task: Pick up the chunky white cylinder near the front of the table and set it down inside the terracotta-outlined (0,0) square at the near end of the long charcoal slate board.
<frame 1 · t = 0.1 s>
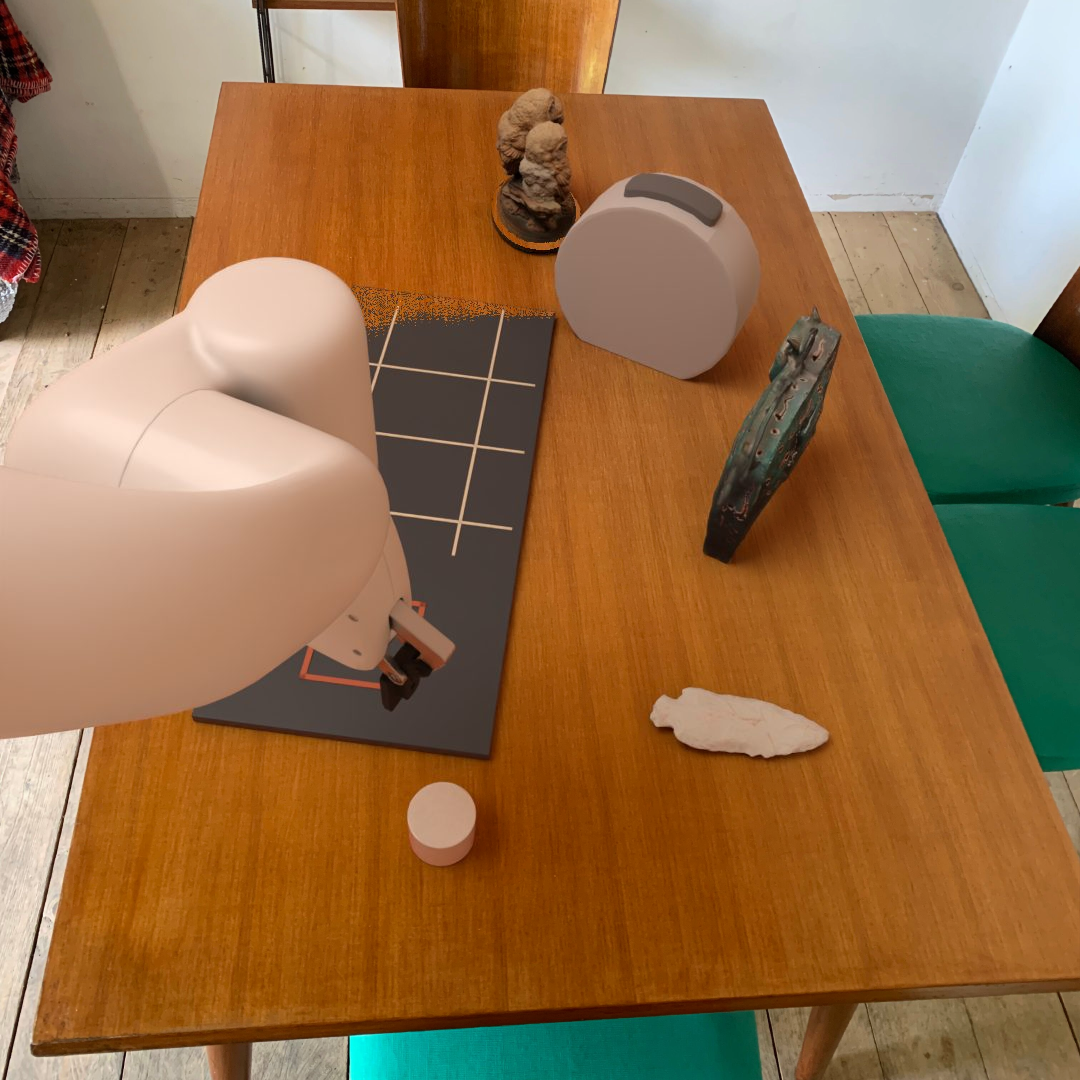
hand: (338, 659, 61), 16 cm above the table, tool pointing down, fingers open, 9 cm apart
owl figurine: (536, 220, 120), on the table
ceramic cat: (749, 498, 93), on the table
stone tool: (735, 728, 78), on the table
white cylinder: (442, 833, 70), on the table
alarm clock: (642, 342, 107), on the table
board: (408, 482, 91), on the table
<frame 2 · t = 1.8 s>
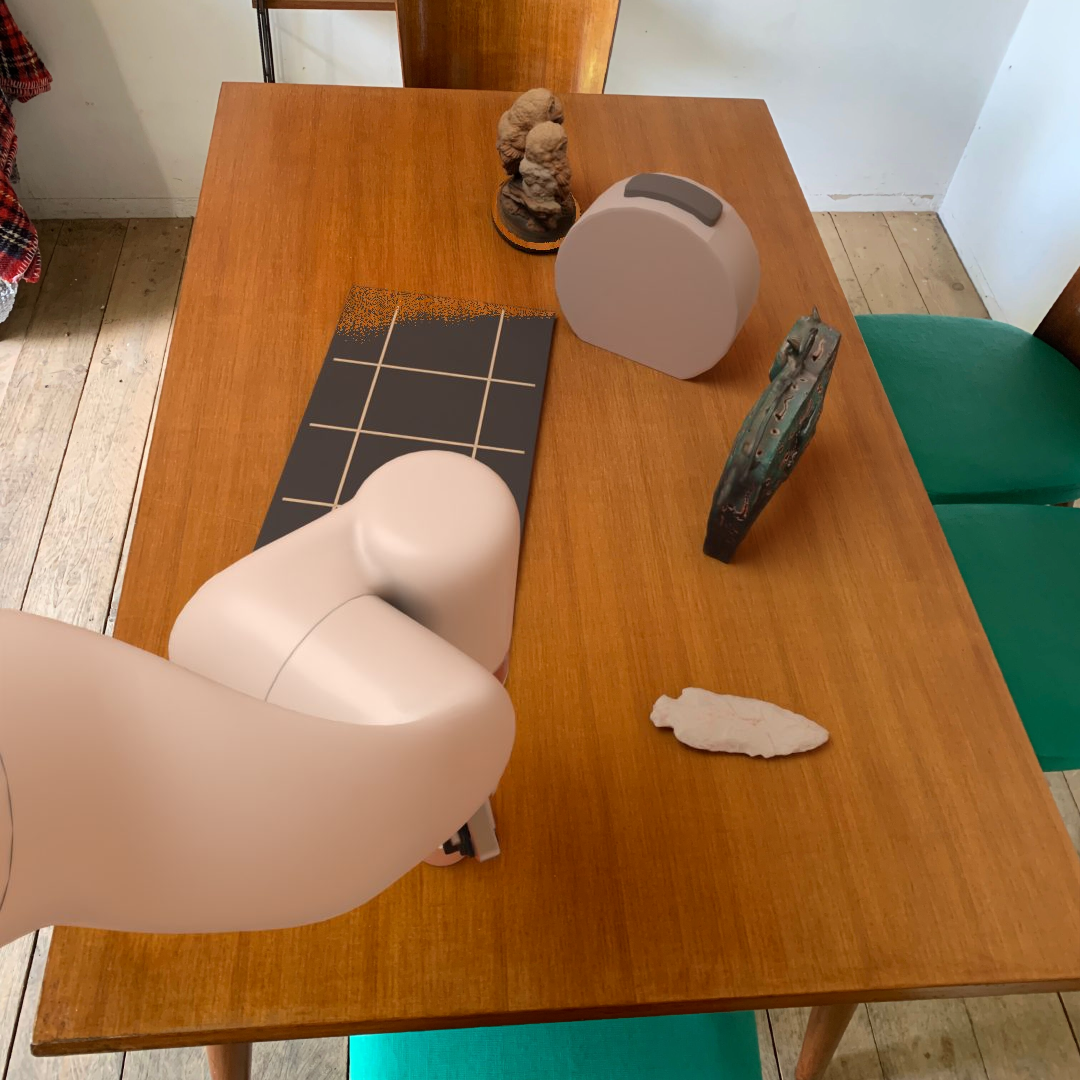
hand: (443, 775, 62), 10 cm above the table, tool pointing down, fingers open, 9 cm apart
nothing on the table moved.
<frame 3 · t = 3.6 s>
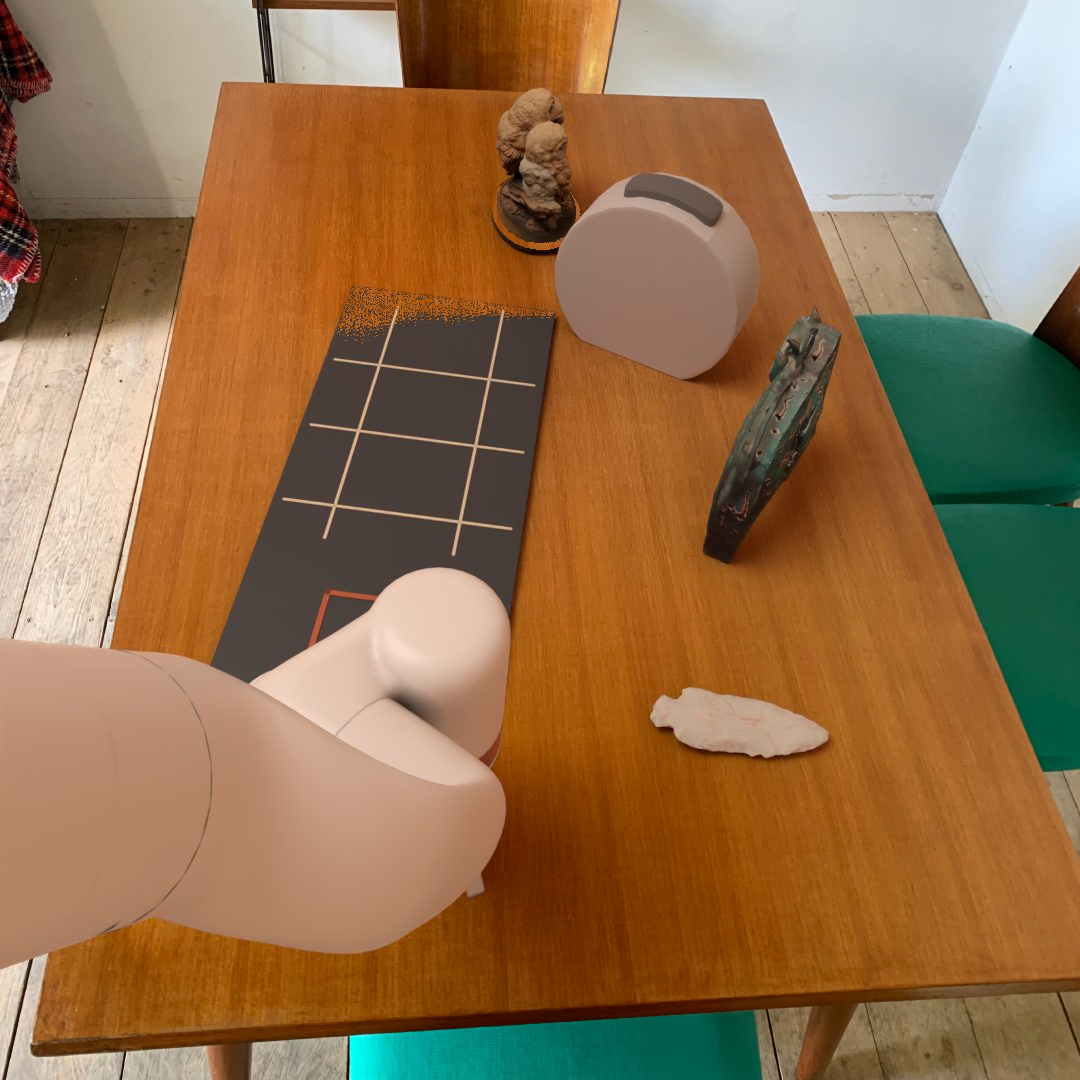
hand: (442, 831, 70), 0 cm above the table, tool pointing down, fingers closed on white cylinder, 5 cm apart
white cylinder: (442, 833, 70), on the table, touching gripper
everything else where it was.
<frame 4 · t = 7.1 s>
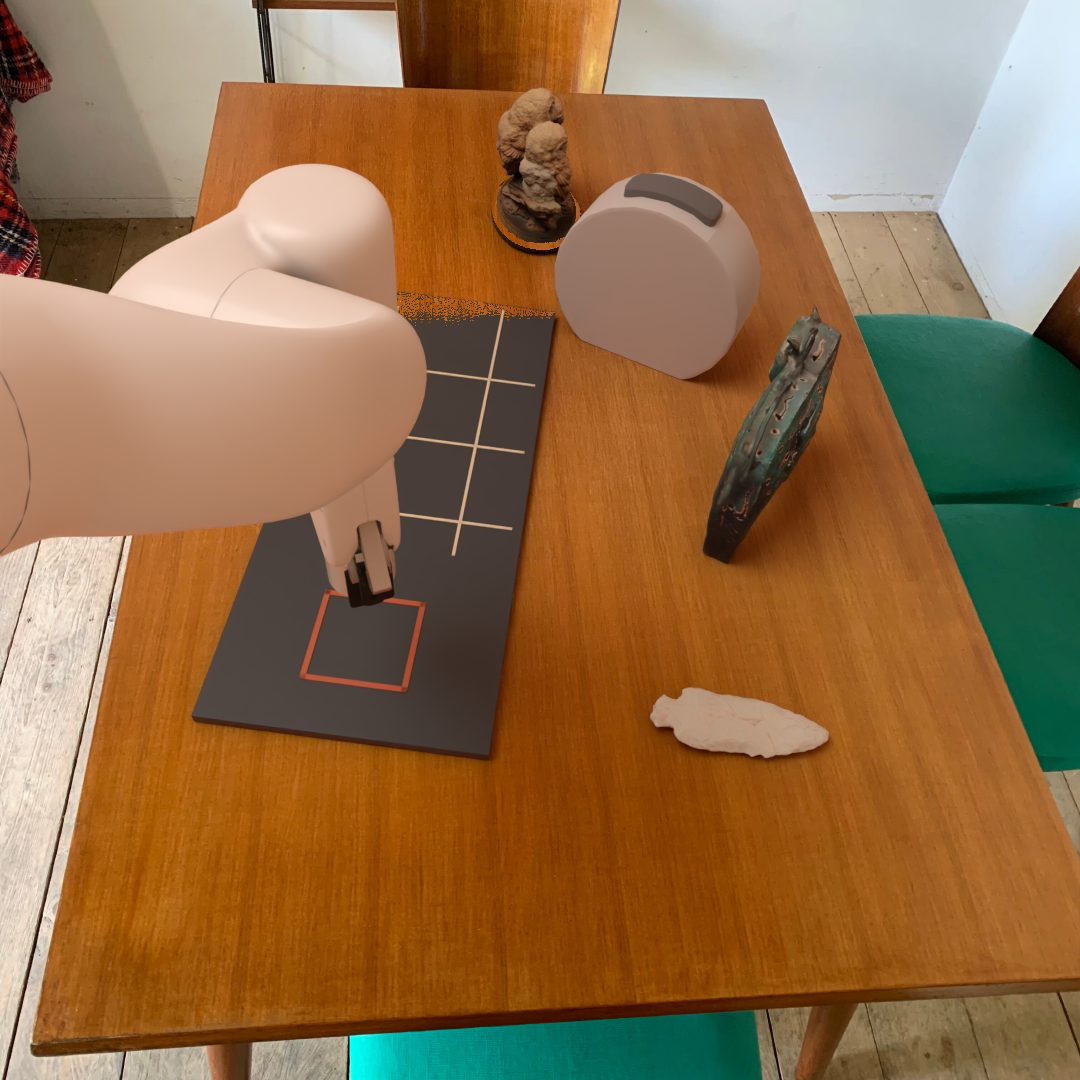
hand: (361, 567, 67), 14 cm above the table, tool pointing down, fingers closed on white cylinder, 5 cm apart
white cylinder: (362, 570, 68), point 14 cm above the table, touching gripper
everything else where it was.
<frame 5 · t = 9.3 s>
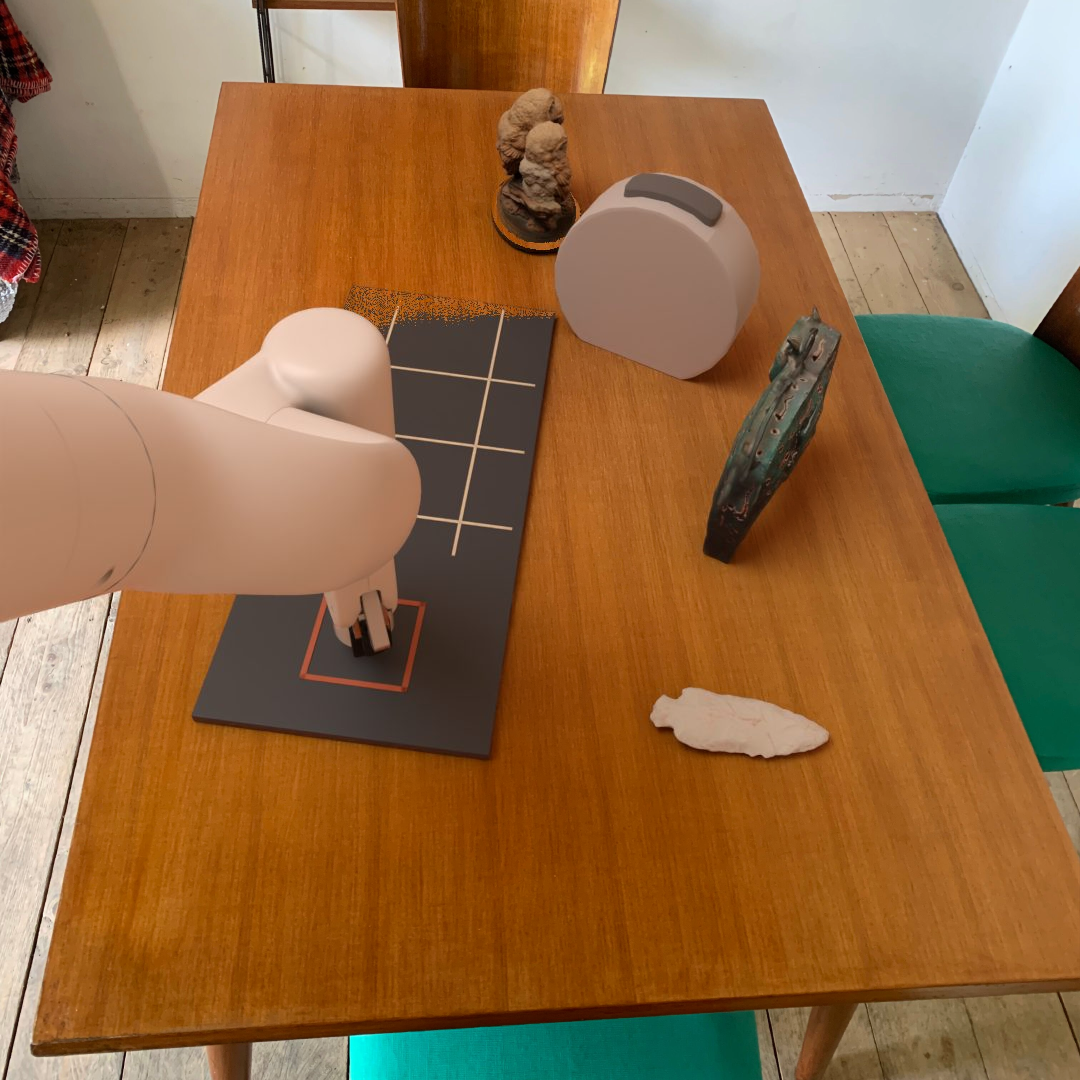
hand: (363, 620, 76), 4 cm above the table, tool pointing down, fingers closed on white cylinder, 5 cm apart
white cylinder: (363, 623, 77), point 3 cm above the table, touching gripper
everything else where it was.
when the fingers open (1 cm above the table, at t = 10.5 s): white cylinder stays where it is, resting on board.
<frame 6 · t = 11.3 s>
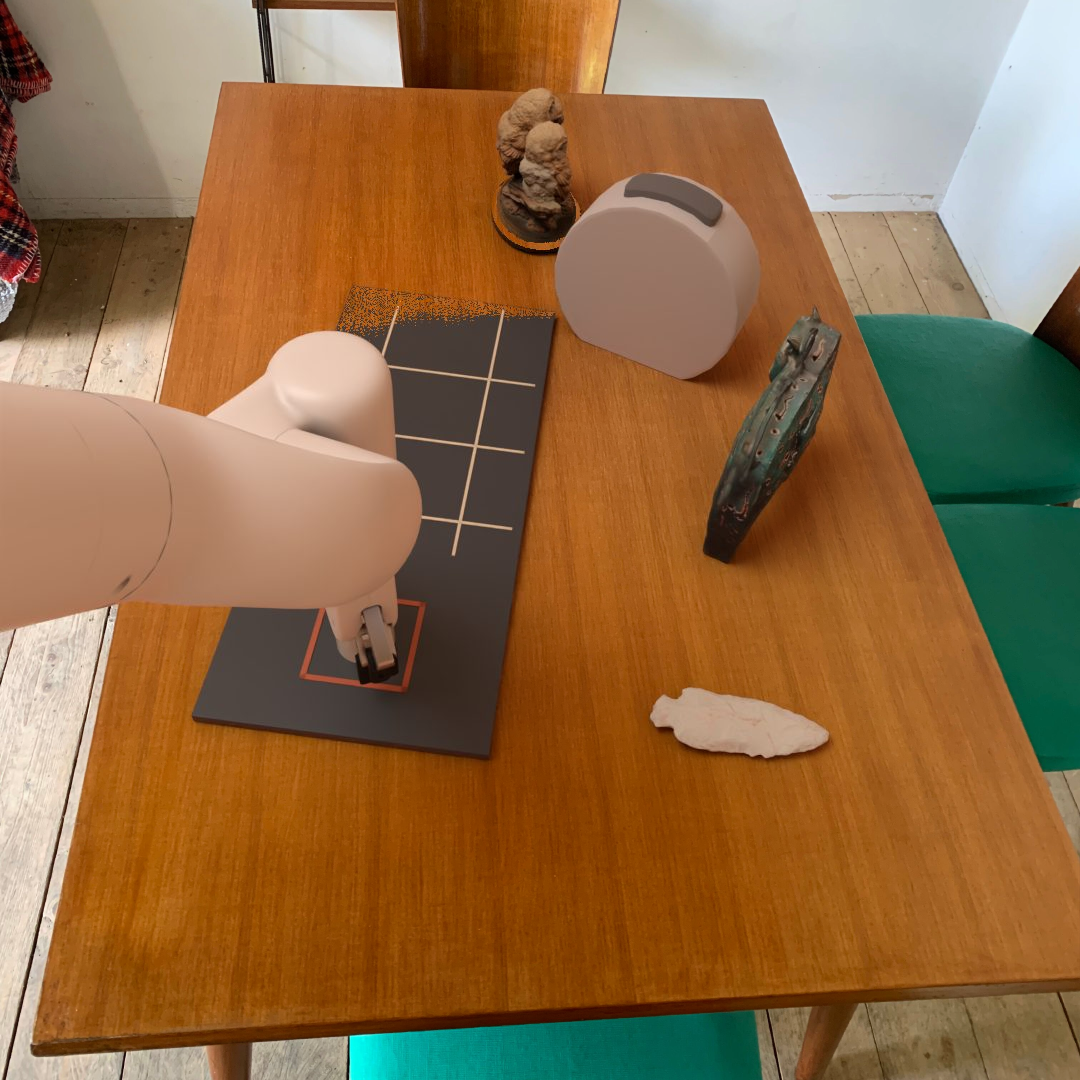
hand: (362, 628, 77), 3 cm above the table, tool pointing down, fingers open, 9 cm apart
white cylinder: (365, 639, 79), point 1 cm above the table, touching board
everything else where it was.
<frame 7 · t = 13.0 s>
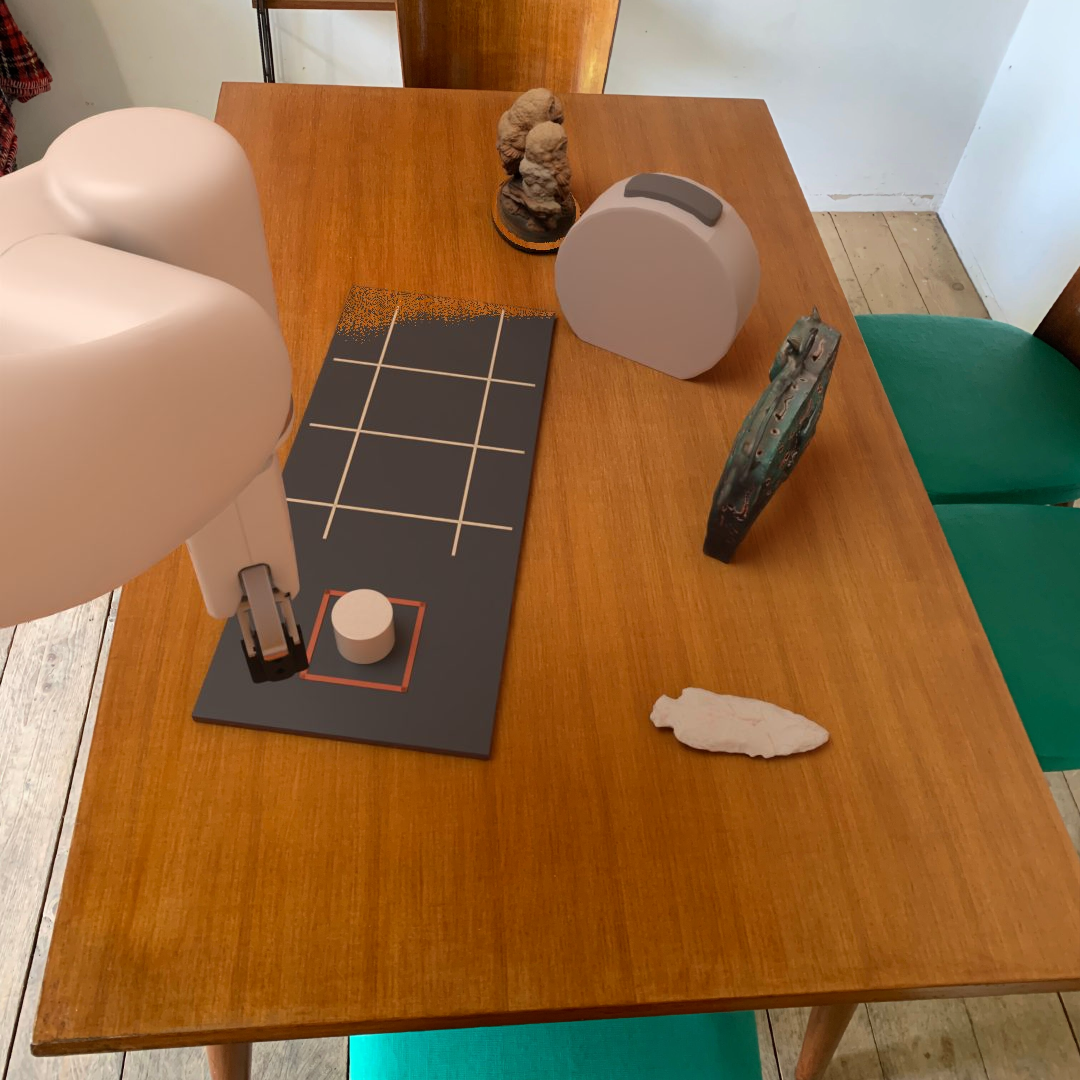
hand: (263, 606, 56), 22 cm above the table, tool pointing down, fingers open, 9 cm apart
nothing on the table moved.
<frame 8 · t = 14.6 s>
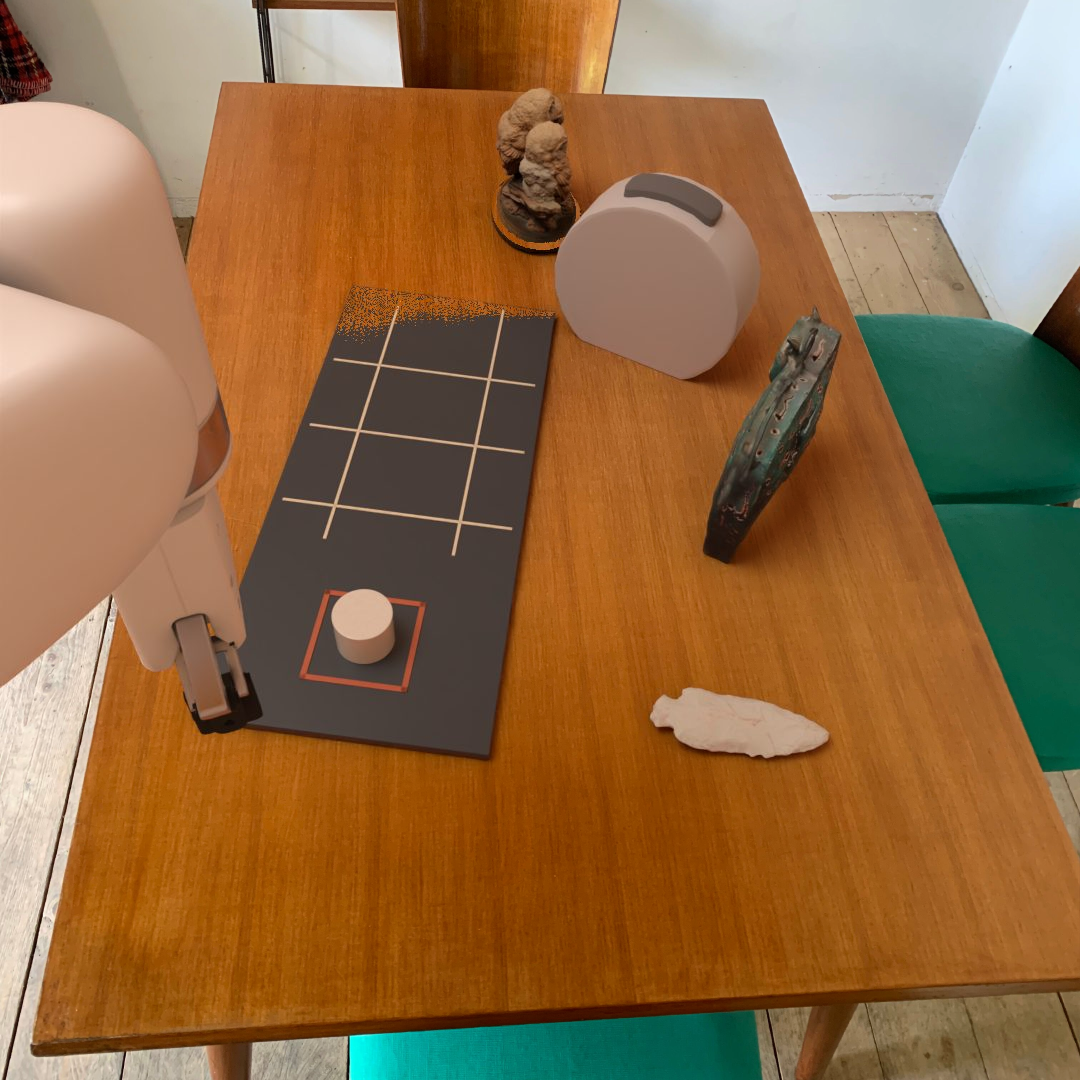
hand: (215, 646, 51), 24 cm above the table, tool pointing down, fingers open, 9 cm apart
nothing on the table moved.
at the end: white cylinder 0.2 cm from the target spot on the board, point 1.0 cm above the board's base; white cylinder tilted 0°; the gripper is holding nothing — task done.
